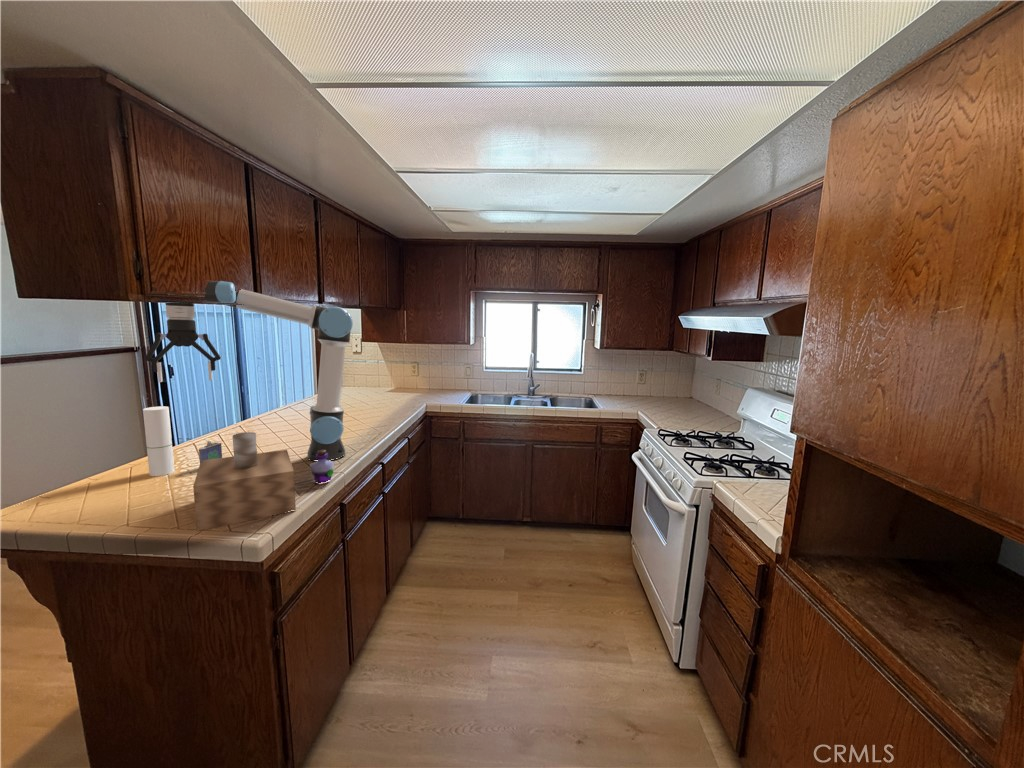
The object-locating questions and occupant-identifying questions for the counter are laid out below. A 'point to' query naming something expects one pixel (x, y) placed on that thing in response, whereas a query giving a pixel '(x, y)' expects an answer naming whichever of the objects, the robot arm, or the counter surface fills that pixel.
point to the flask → (210, 451)
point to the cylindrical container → (158, 440)
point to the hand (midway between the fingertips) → (186, 380)
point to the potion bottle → (322, 467)
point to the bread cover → (243, 485)
